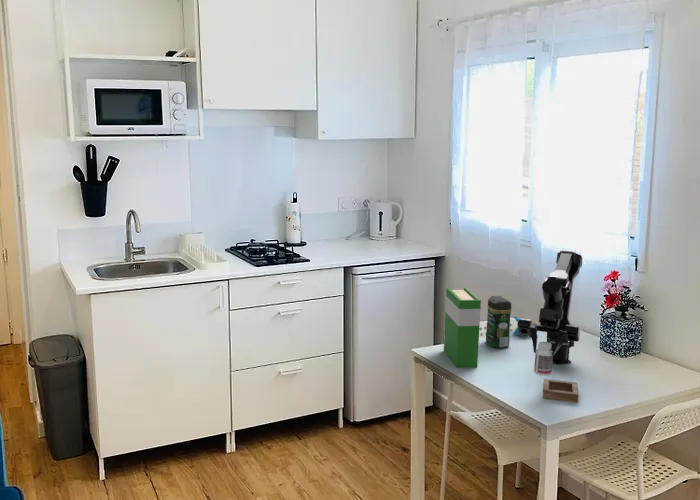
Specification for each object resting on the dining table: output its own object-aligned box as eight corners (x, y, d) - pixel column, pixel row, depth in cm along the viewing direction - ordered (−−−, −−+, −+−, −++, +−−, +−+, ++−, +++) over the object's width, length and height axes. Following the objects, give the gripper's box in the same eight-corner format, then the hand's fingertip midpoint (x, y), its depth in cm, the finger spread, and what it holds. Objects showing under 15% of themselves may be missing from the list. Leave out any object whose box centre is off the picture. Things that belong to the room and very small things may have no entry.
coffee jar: (482, 341, 278) (485, 294, 275) (502, 340, 280) (504, 293, 276) (491, 349, 269) (494, 301, 265) (512, 348, 270) (515, 300, 267)
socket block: (542, 387, 234) (543, 378, 233) (576, 391, 231) (577, 382, 231) (542, 399, 224) (543, 390, 223) (577, 403, 221) (578, 394, 221)
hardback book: (443, 350, 266) (446, 287, 262) (463, 350, 267) (466, 287, 263) (456, 367, 249) (459, 300, 244) (477, 367, 250) (480, 300, 245)
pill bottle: (555, 374, 227) (557, 344, 225) (543, 377, 224) (545, 347, 222) (542, 368, 232) (544, 339, 230) (530, 371, 229) (532, 342, 227)
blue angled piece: (534, 335, 281) (517, 316, 281) (523, 345, 282) (505, 326, 282) (532, 331, 292) (515, 312, 292) (521, 340, 293) (504, 322, 293)
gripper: (520, 294, 230) (510, 337, 223) (581, 301, 223) (573, 346, 215) (524, 311, 239) (514, 353, 231) (582, 319, 231) (575, 362, 224)
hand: (543, 353), depth 225 cm, fingers closed on pill bottle, 5 cm apart
